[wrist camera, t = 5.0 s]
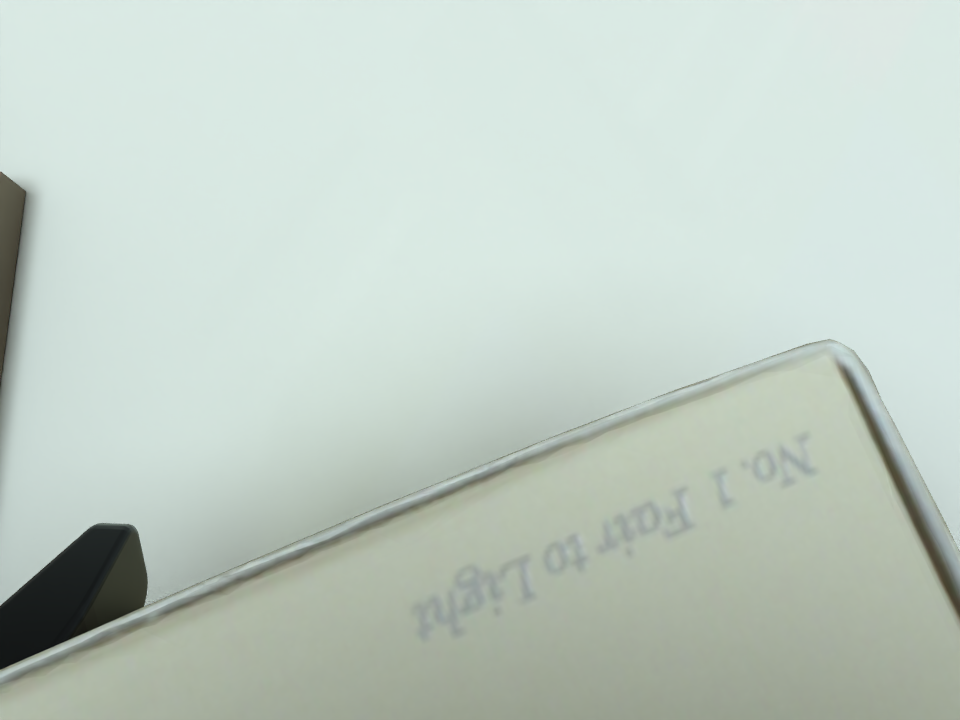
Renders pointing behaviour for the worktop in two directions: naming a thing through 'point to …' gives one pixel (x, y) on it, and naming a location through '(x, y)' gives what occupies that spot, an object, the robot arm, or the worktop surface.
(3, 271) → the socket
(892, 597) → the skincare box
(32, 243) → the worktop surface
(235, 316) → the worktop surface
